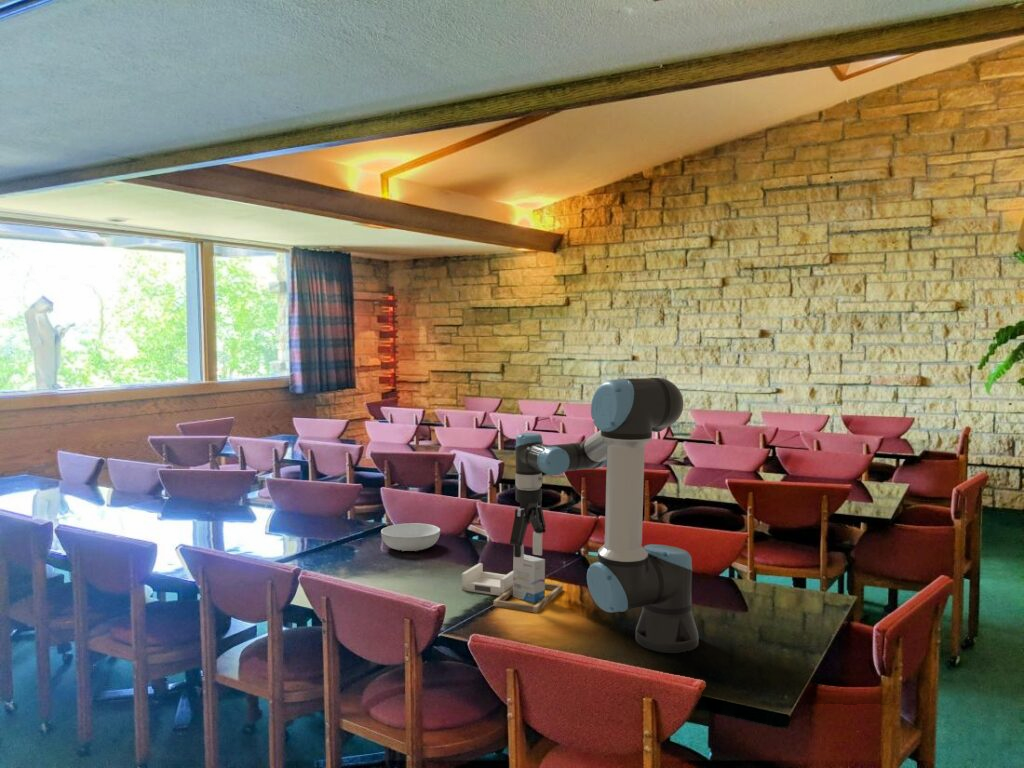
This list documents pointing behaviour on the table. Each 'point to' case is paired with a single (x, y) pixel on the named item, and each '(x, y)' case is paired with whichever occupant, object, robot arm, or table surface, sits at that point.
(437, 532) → the serving bowl
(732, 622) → the table surface
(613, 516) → the robot arm
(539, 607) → the tray frame
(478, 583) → the tray
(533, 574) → the ink box
